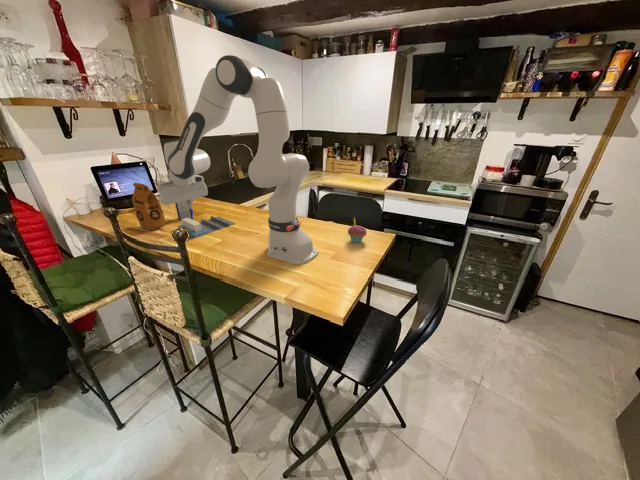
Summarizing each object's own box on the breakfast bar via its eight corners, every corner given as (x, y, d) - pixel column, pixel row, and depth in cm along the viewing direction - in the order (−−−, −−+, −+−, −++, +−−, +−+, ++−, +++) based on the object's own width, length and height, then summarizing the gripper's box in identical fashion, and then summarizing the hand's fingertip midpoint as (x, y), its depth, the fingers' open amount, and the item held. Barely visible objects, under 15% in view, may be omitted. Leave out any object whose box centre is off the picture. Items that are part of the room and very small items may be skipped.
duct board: (236, 225, 135) (235, 219, 133) (187, 242, 116) (186, 236, 115) (219, 218, 144) (218, 212, 142) (170, 233, 125) (169, 226, 124)
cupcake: (351, 245, 116) (353, 220, 111) (344, 237, 124) (346, 213, 118) (368, 243, 118) (371, 219, 113) (361, 235, 126) (363, 212, 121)
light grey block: (202, 233, 123) (200, 223, 121) (196, 235, 121) (194, 225, 119) (189, 226, 130) (187, 217, 127) (183, 228, 128) (181, 219, 125)
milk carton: (193, 220, 140) (185, 183, 131) (179, 222, 138) (170, 184, 129) (193, 216, 146) (186, 180, 137) (180, 217, 144) (172, 181, 135)
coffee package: (149, 233, 125) (135, 188, 115) (137, 227, 131) (123, 183, 121) (170, 226, 132) (159, 183, 122) (158, 221, 138) (146, 180, 129)
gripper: (160, 184, 105) (168, 216, 111) (206, 176, 120) (211, 205, 126) (153, 182, 109) (161, 213, 115) (199, 174, 123) (204, 202, 129)
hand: (188, 209), depth 121 cm, fingers closed
